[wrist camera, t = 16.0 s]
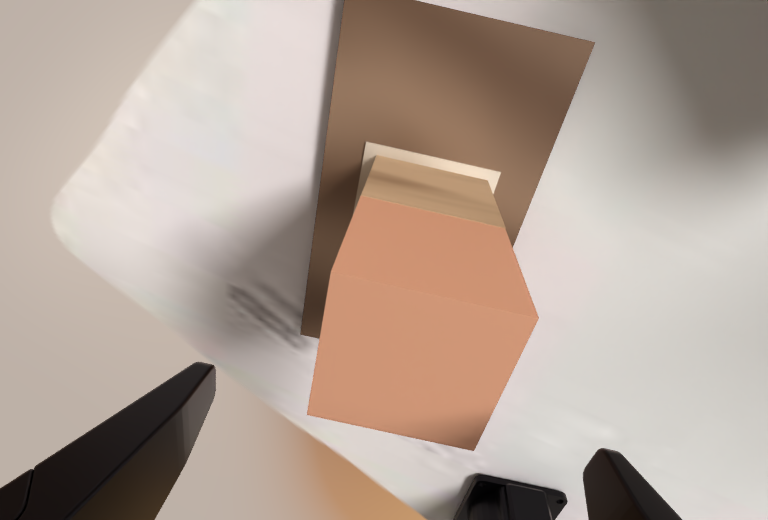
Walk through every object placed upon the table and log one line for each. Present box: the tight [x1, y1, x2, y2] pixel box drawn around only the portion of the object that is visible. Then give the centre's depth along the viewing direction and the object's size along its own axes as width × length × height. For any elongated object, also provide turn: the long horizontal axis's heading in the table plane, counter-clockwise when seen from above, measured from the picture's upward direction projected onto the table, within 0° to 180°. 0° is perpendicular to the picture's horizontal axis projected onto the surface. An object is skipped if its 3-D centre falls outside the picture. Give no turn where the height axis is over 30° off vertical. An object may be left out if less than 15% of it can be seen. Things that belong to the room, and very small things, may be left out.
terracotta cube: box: [307, 196, 539, 451], centre depth 13 cm, size 5×5×5 cm
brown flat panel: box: [300, 0, 595, 339], centre depth 20 cm, size 17×10×1 cm, turn 169°
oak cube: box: [361, 155, 506, 229], centre depth 18 cm, size 5×5×5 cm
